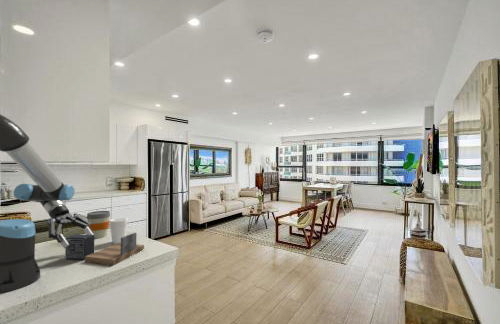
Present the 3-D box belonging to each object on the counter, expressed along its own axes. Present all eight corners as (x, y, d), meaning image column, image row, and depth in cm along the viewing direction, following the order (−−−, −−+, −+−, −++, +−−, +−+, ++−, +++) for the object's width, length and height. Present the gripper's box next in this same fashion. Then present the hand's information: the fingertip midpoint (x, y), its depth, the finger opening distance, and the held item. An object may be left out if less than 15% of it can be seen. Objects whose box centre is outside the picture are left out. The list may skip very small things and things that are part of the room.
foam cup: (110, 240, 139) (110, 218, 139) (128, 238, 143) (128, 217, 143) (108, 245, 131) (108, 222, 131) (127, 243, 134) (127, 220, 135)
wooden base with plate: (113, 265, 104) (114, 241, 104) (85, 261, 108) (85, 239, 108) (144, 249, 124) (144, 229, 124) (118, 247, 127) (119, 228, 127)
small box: (95, 255, 116) (95, 234, 116) (84, 260, 110) (85, 238, 110) (75, 254, 117) (76, 233, 117) (64, 259, 111) (64, 237, 111)
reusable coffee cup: (106, 238, 144) (107, 213, 144) (83, 240, 140) (83, 215, 140) (112, 232, 156) (112, 210, 156) (90, 234, 152) (90, 211, 152)
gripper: (75, 210, 132) (97, 239, 128) (24, 220, 107) (49, 256, 104) (83, 201, 131) (105, 230, 127) (33, 209, 106) (58, 245, 103)
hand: (80, 241), depth 115 cm, fingers open, 13 cm apart
